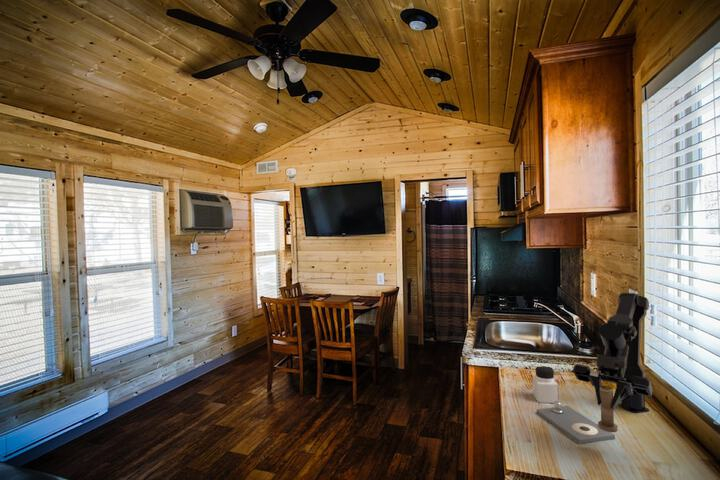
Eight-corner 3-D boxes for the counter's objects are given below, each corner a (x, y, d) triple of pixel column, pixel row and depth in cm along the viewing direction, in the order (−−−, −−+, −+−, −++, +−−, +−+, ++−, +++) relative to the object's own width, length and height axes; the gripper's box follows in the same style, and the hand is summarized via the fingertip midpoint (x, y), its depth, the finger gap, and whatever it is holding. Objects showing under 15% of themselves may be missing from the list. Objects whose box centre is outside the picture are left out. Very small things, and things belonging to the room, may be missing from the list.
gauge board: (567, 409, 133) (567, 405, 133) (614, 438, 113) (614, 434, 113) (536, 413, 131) (536, 409, 130) (579, 444, 111) (579, 439, 111)
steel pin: (558, 408, 130) (558, 399, 130) (565, 413, 127) (565, 403, 127) (550, 409, 130) (550, 400, 130) (557, 414, 127) (556, 404, 127)
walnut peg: (608, 423, 109) (606, 383, 109) (621, 431, 105) (620, 390, 105) (594, 425, 108) (593, 385, 108) (607, 433, 104) (606, 391, 104)
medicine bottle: (558, 403, 137) (557, 371, 137) (537, 402, 138) (536, 370, 138) (552, 395, 144) (551, 364, 144) (533, 394, 145) (532, 363, 145)
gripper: (573, 337, 116) (561, 383, 108) (649, 349, 102) (641, 403, 95) (583, 356, 121) (572, 401, 114) (655, 370, 108) (648, 422, 100)
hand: (605, 406), depth 106 cm, fingers closed on walnut peg, 3 cm apart
